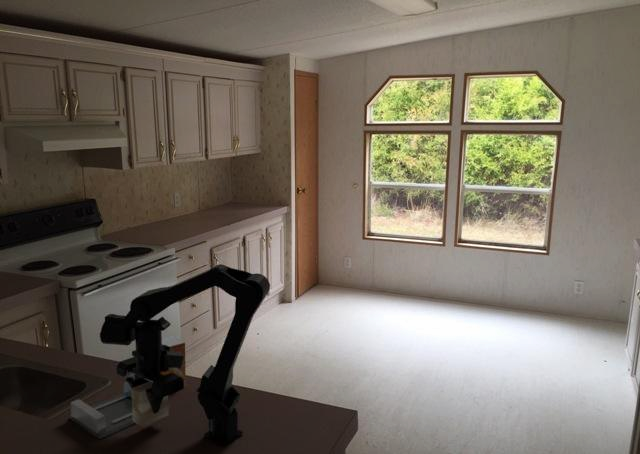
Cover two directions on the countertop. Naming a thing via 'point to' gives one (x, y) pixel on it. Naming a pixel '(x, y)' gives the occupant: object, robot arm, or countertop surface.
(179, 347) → the small box
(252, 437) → the countertop surface
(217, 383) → the robot arm
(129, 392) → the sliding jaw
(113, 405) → the vise bed
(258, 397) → the countertop surface
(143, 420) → the ash block
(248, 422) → the countertop surface
